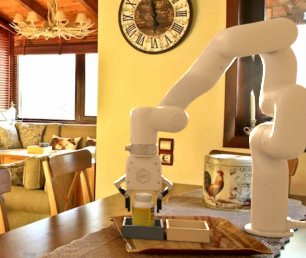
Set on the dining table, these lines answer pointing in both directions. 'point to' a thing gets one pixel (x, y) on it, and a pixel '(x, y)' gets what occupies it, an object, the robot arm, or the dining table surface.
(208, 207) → the dining table surface
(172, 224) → the cream bin
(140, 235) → the slate bin
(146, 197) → the pill bottle
